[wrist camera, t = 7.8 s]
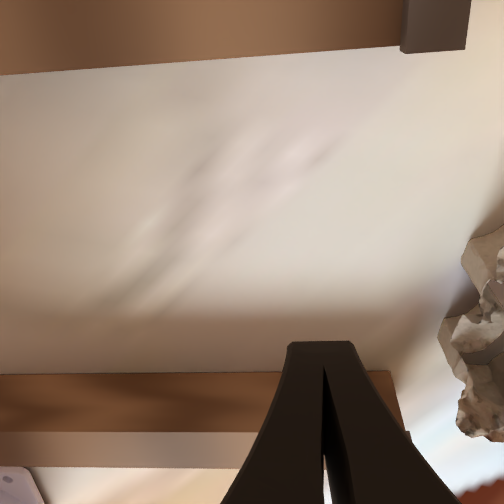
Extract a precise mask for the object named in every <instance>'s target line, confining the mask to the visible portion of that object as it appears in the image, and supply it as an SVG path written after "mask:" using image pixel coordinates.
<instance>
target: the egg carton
mask: <svg viewBox="0 0 504 504" xmlns="http://www.w3.org/2000/svg"><path fill="white" fill-rule="evenodd" d="M461 264H462V266H463V268H464V269H465V270H466V272H467V274H468V275H469V277H470V279H471V281H472V283H473V284H474V285H475V286H476V288H477V290H478V292H479V293H480V297H479V303H478V305H477V306H476V307H474V308H473V309H472V310H470V311H469V312H467V313H465V314H463V315H460V316H455V317H449V318H444V320H443V322H442V324H441V327H440V330H439V333H438V337H437V338H438V340H439V343H440V345H441V347H442V349H443V352H444V354H445V356H446V359H447V362H448V364H449V365H450V367H451V368H452V372H453V374H454V375H455V377H456V378H458V379H459V380H461V381H462V382H464V383H465V384H466V387H465V390H463V391H462V394H461V399H459V400H458V406H459V408H458V413H457V417H456V425H457V426H458V427H459V429H460V430H461V432H463V433H465V435H466V436H469V437H471V438H474V437H478V436H484V437H486V438H487V439H488V440H490V441H491V442H504V352H502V353H501V354H499V355H498V356H496V357H495V358H494V359H492V360H491V362H490V363H489V364H488V365H472V364H467V363H464V360H463V358H462V355H463V354H464V353H475V352H478V351H481V350H484V349H486V348H487V347H488V346H489V345H490V344H491V343H492V342H493V341H495V340H496V339H497V338H498V337H499V336H500V335H501V334H502V332H503V331H504V308H503V307H502V305H501V304H500V302H499V301H498V299H497V298H496V296H495V295H494V293H493V292H492V290H491V289H490V288H489V286H488V285H487V283H488V282H489V281H490V280H493V281H496V282H498V283H500V284H502V283H503V282H504V224H503V225H502V226H501V227H500V228H499V229H497V230H496V231H494V232H492V233H490V234H487V235H485V236H481V237H477V238H472V239H471V240H470V241H469V242H468V244H467V246H466V248H465V251H464V254H463V255H462V257H461Z"/></svg>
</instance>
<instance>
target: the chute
mask: <svg viewBox="0 0 504 504" xmlns="http://www.w3.org/2000/svg"><path fill="white" fill-rule="evenodd" d="M470 7H471V0H0V75H11V74H25V73H38V72H51V71H65V70H78V69H92V68H105V67H119V66H132V65H145V64H159V63H172V62H186V61H199V60H212V59H226V58H239V57H253V56H266V55H280V54H293V53H306V52H320V51H333V50H347V49H360V48H374V47H387V46H400V51H401V52H403V53H405V54H412V53H426V52H439V51H453V50H465V45H466V38H467V30H468V22H469V15H470ZM367 373H368V375H369V377H370V379H371V380H372V382H373V384H374V386H375V387H376V389H377V391H378V392H379V394H380V395H381V397H382V399H383V400H384V402H385V403H386V405H387V406H388V408H389V409H390V411H391V412H392V414H393V415H394V417H395V419H396V420H397V422H398V423H399V424H400V426H401V427H402V429H403V430H404V432H405V433H406V434H407V436H408V437H409V439H410V440H411V441H412V439H411V435H410V432H409V431H405V427H404V423H403V419H402V415H401V411H400V408H399V404H398V400H397V396H396V392H395V388H394V385H393V381H392V377H391V373H390V371H367ZM281 375H282V372H241V373H135V374H30V375H0V466H16V467H113V468H209V469H241V467H242V465H243V463H244V461H245V460H246V458H247V456H248V454H249V452H250V450H251V448H252V446H253V443H254V441H255V439H256V437H257V435H258V433H259V431H260V429H261V427H262V424H263V422H264V420H265V418H266V415H267V413H268V410H269V408H270V405H271V403H272V400H273V398H274V395H275V392H276V390H277V387H278V384H279V381H280V378H281ZM324 470H327V468H326V462H325V456H324Z"/></svg>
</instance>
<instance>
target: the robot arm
mask: <svg viewBox="0 0 504 504" xmlns="http://www.w3.org/2000/svg"><path fill="white" fill-rule="evenodd" d="M324 456H325V462H326V468H327V474H328V480H329V486H330V492H331V498H332V504H462V503H461V502H460V501H459V500H458V499H457V498H456V496H455V495H454V494H453V493H452V492H451V491H450V489H449V488H448V487H447V486H446V485H445V484H444V482H443V481H442V480H441V479H440V478H439V476H438V475H437V474H436V473H435V471H434V470H433V469H432V468H431V466H430V465H429V464H428V462H427V461H426V460H425V459H424V457H423V456H422V455H421V453H420V452H419V451H418V449H417V448H416V447H415V445H414V444H413V443H412V441H411V440H410V439H409V437H408V436H407V434H406V433H405V432H404V430H403V429H402V427H401V426H400V424H399V423H398V422H397V420H396V419H395V417H394V415H393V414H392V412H391V411H390V409H389V408H388V406H387V405H386V403H385V402H384V400H383V399H382V397H381V395H380V394H379V392H378V391H377V389H376V387H375V386H374V384H373V382H372V380H371V379H370V377H369V375H368V373H367V371H366V370H365V368H364V366H363V364H362V362H361V360H360V358H359V356H358V354H357V351H356V349H355V347H354V345H353V344H352V343H351V342H350V341H308V342H292V343H290V344H289V345H288V346H287V354H286V359H285V364H284V368H283V371H282V375H281V378H280V381H279V384H278V387H277V390H276V392H275V395H274V398H273V400H272V403H271V405H270V408H269V410H268V413H267V415H266V418H265V420H264V422H263V424H262V427H261V429H260V431H259V433H258V435H257V437H256V439H255V441H254V443H253V446H252V448H251V450H250V452H249V454H248V456H247V458H246V460H245V461H244V463H243V465H242V467H241V469H240V471H239V473H238V474H237V476H236V478H235V480H234V481H233V483H232V485H231V487H230V488H229V490H228V492H227V493H226V495H225V497H224V498H223V500H222V502H221V503H220V504H324V494H323V483H324ZM0 504H45V503H44V501H43V499H42V497H41V495H40V493H39V491H38V488H37V486H36V484H35V482H34V480H33V478H32V476H31V474H30V472H29V471H28V470H27V469H26V468H23V467H8V466H0Z"/></svg>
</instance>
